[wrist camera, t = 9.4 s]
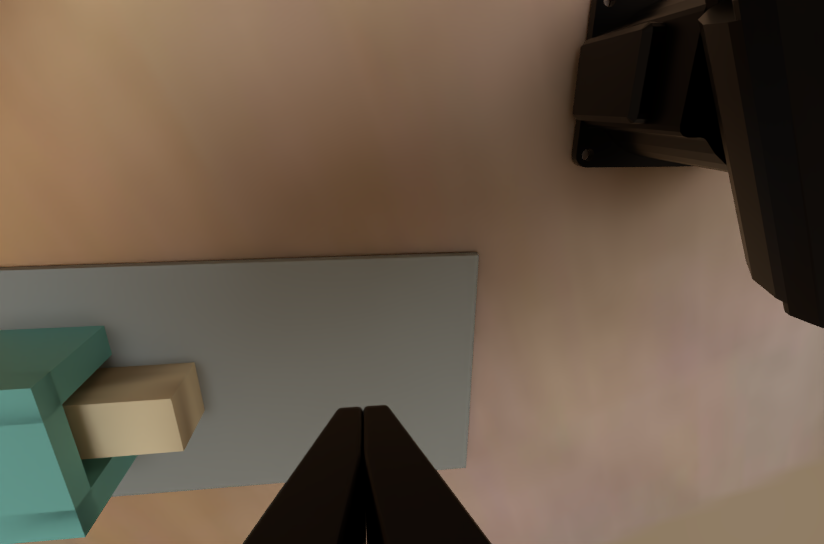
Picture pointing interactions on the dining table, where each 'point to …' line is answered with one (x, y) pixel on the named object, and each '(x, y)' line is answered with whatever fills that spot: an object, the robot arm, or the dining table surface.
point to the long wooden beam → (135, 410)
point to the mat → (275, 350)
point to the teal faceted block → (49, 436)
